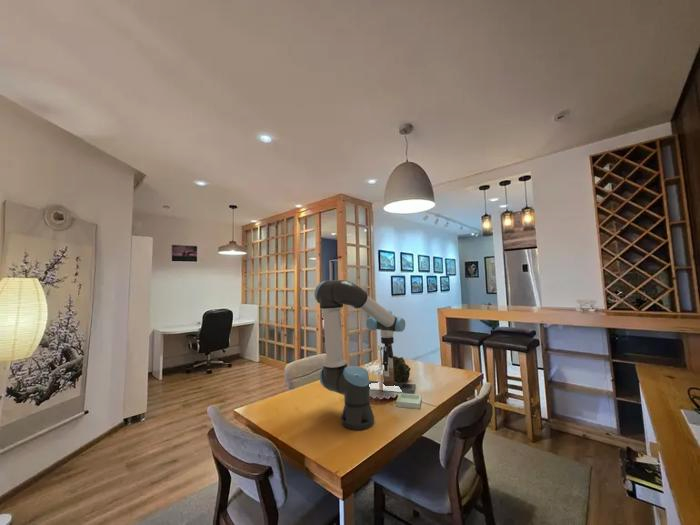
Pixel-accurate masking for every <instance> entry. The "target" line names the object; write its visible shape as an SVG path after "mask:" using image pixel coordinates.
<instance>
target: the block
mask: <svg viewBox="0 0 700 525" xmlns="http://www.w3.org/2000/svg"><path fill="white" fill-rule="evenodd" d="M382 377H383V378H382V379H383V384H384V385H385V386H394V369H393V368H389V377H387V376H384V369H382Z"/></svg>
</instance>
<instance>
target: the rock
mask: <svg viewBox="0 0 700 525" xmlns="http://www.w3.org/2000/svg"><path fill="white" fill-rule="evenodd" d="M393 356H394V355H393ZM388 365H389V364H388ZM393 369H394V382H395V383H409V382H408V381H409V378H410V374H411V373H410V371H411V367H409V365H408V364H407V363H406V361H405V359H404V357H403V356H401V357H398V356H396V355H395V356H394V358H393Z"/></svg>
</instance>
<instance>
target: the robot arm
mask: <svg viewBox="0 0 700 525" xmlns="http://www.w3.org/2000/svg"><path fill="white" fill-rule="evenodd" d="M314 299H315V301H316V302H317V303H318V304H319V308H320V310H321V311H322V312H323V327H324V328H323V329H324V330H323V332H324V344H325V346H324V347H325V361H324V362H323V363H322V364H323V366H322V367H321V369H320V371H319V376H318V377H319V382H320V384H321V386H322V387H323V388H325V389H326V390H328V391H331V392H333V393H337V394H340V395H342V396H343V397H344V399H343V400H344V405H343V408H342V413H341V416H340V424H341V426H343V427H344V428H346V429H347V430H351V431H361V430H366V429H369V428H371V427H373V425H374V424H375V415H374V412H373V409H372V406H371V400H370V399H371V396H370V395H371V394H370V393H371V392H370V391H371V390H370V387H369V382H370V381H369V380H370V374H369V372H368V370H367V369H366V368H364V367H362V366H354V365H349V366H348V362H347V360H345V359H344V350H343V349H344V347H343V346H344V344H343V329H342V328H343V326H342V315H341V314H342V313H341V311H342V309H343V308H344V306H345V305H346V306H351V307H353V308H354V309H357V310H358V309H359V310H360V311H362V312H364V313H365V314H366V315H368V316H369V317H368V318H367V319H366V320H365V325H366V327H367V329H368V330H370V331H375V330H380V336H381V337H380V343H381V344H382V345H384V346H383V347H382V348H383V349H382V352H383V354H382V363H381V365H382V366H383V370H384V376H387V377H389V368H393V358H394V352H393V345H392V344H394V342H395V341H394V334H395V332H396V333H397V332H398V333H399V332H400V333H401V332H404V330H405V329H406V321H405V319H404V317H403V318H402V317H400V316H398V317H397V316H396V315H394V314H393V311H392V310H387V309H386V308H385V307H384V306H382V305H380V304H379V303H378V302H377V301H375V300H374V299H373V298H371V297H370V296H369V294H368V292H367V291H366V290H364V289H363V288H362V287H360V286H359V285H357V284H355V283H353V282H351V281H349V280H346V279H339V280H337V279H335V280H333V279H332V280H323V281H320V282H319V283H318V284H317V286H316V287H315V290H314ZM388 364H389V365H388Z"/></svg>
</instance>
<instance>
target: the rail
mask: <svg viewBox="0 0 700 525" xmlns="http://www.w3.org/2000/svg"><path fill="white" fill-rule="evenodd" d="M369 381H370V382H369V384H371V383H378V382H379V381H380V380H371V379H369ZM394 385H395V386H399V387H400V389H401V390H402V392H403V393H406V394H415V391H416V389H417V385H416V383H408V382H406V383H400V382H396V381H395V382H394Z"/></svg>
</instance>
